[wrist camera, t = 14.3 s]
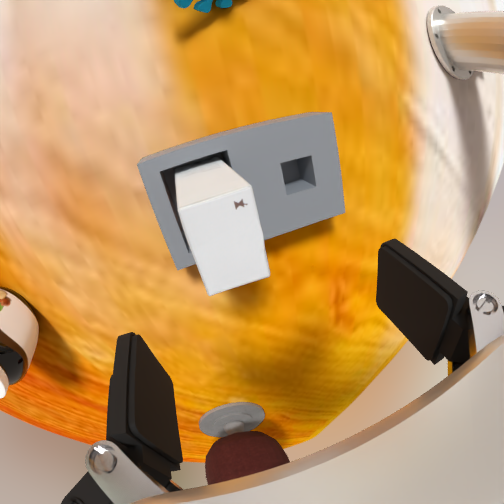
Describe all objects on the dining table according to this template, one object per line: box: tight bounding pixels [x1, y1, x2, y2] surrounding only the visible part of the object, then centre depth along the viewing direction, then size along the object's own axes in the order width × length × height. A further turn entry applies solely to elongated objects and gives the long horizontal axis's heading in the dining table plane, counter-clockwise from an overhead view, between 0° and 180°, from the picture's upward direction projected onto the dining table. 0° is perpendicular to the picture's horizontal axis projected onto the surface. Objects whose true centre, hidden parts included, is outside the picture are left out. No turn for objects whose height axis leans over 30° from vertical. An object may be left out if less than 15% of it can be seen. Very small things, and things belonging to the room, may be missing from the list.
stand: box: [137, 112, 345, 270], centre depth 25 cm, size 17×10×4 cm, turn 103°
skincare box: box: [175, 157, 270, 296], centre depth 21 cm, size 6×4×12 cm
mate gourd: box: [199, 402, 290, 485], centre depth 37 cm, size 16×14×20 cm
